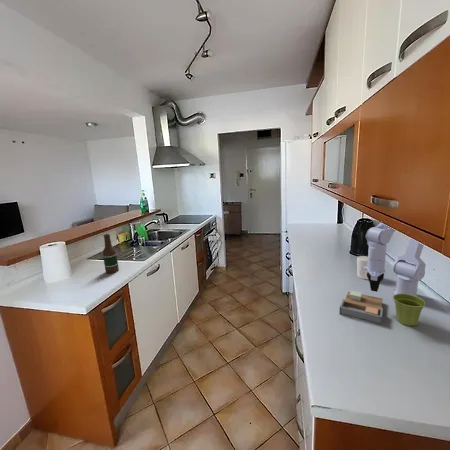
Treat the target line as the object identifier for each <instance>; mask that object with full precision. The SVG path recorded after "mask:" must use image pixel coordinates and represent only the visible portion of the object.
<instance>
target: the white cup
mask: <svg viewBox="0 0 450 450" xmlns="http://www.w3.org/2000/svg"><path fill="white" fill-rule="evenodd" d="M367 266H368V255H367V256H364V255H362V256H361V255H360V256H357V257H356V271H357V272H356V273H357V274H356V275H357V277H358V278H359V279H362V280H369V279H368V277H367V272H368V271H367V270H364V267H367Z"/></svg>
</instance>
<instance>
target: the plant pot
mask: <svg viewBox="0 0 450 450" xmlns="http://www.w3.org/2000/svg"><path fill="white" fill-rule="evenodd" d="M392 299H393V301H394V305H395V311H396V312H395V313H396V320H397V321H398V322H399V323H400V324H402V325H405V326H409V327H410V326H417V325H418V324H419V323H418V322H419V320H420V316H421V314H422V313H421V312H422V310H423V309H424V307H425V306H426V305H427V303H426V301H425V300H424V299H422V298H421V297H419V296H417V297H416V296H413V295H409V294H396V295H394V294H393V296H392Z"/></svg>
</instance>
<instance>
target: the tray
mask: <svg viewBox="0 0 450 450" xmlns="http://www.w3.org/2000/svg"><path fill="white" fill-rule="evenodd" d="M344 301H345V299H342V301H341V303H340V306H339V311H338V312H339V315H341V316H342V315H343V316H346V317H349V318H353V319H357V320H361V321H366V322H370V323H374V324H377V325H382V322H383V321H382V320H383V312H384V311H383V310H384V308H383V307H382V308H381V313H380V314H379V313H378V315H374V314H370V313H366V312H365V310H362V309H358V308H354V307H350V306H345V305H344Z"/></svg>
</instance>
